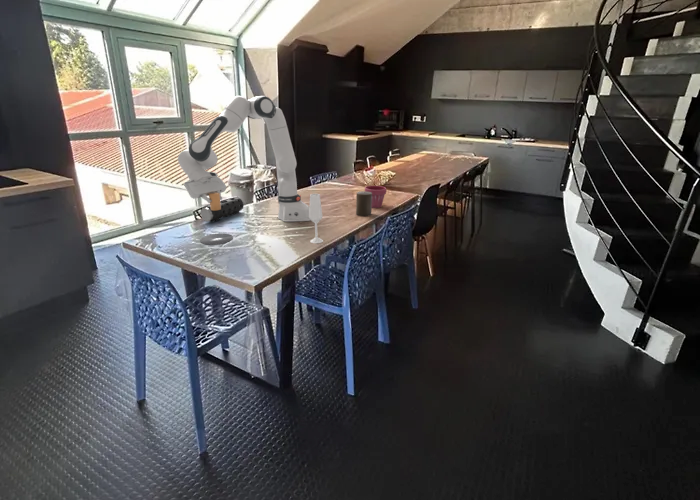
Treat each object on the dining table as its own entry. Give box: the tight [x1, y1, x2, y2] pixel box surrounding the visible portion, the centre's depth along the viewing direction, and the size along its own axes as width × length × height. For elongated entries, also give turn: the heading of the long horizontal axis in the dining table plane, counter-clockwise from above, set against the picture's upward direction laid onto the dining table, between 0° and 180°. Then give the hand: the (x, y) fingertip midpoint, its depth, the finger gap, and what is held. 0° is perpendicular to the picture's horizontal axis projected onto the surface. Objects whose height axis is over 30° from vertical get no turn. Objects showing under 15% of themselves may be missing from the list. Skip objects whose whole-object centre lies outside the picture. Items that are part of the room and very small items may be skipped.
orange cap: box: [208, 193, 221, 211], centre depth 190 cm, size 5×5×8 cm
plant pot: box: [364, 185, 387, 209], centre depth 254 cm, size 14×14×13 cm
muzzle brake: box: [200, 196, 244, 223], centre depth 230 cm, size 10×28×10 cm, turn 155°
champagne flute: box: [308, 193, 324, 244], centre depth 188 cm, size 7×7×24 cm
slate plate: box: [199, 232, 234, 246], centre depth 196 cm, size 16×16×1 cm
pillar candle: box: [355, 190, 372, 217], centre depth 236 cm, size 10×10×15 cm
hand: (215, 200), depth 189 cm, fingers closed on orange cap, 5 cm apart
